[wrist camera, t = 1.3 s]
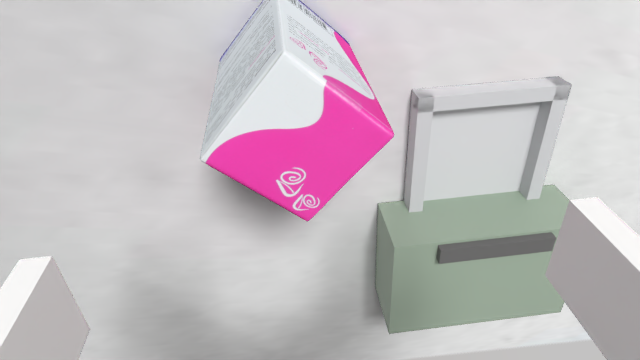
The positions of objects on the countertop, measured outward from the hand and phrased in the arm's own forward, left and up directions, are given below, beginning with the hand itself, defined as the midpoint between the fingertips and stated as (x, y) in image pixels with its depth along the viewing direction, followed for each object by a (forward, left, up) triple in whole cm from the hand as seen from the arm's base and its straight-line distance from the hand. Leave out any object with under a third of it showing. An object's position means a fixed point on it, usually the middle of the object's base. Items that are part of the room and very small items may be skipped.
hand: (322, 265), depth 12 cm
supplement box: (0, 0, -18) cm, 18 cm away
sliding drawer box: (+13, -12, -18) cm, 25 cm away
